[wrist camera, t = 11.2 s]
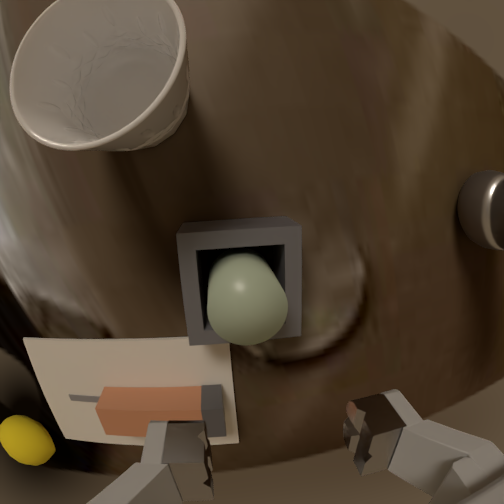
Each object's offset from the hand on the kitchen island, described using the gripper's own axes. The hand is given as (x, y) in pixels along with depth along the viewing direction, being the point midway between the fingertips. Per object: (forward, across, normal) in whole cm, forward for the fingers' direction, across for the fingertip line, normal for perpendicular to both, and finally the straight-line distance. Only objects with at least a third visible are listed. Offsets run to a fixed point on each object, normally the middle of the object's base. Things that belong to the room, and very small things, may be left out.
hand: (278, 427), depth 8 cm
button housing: (+15, 0, 0) cm, 15 cm away
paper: (+15, +10, +11) cm, 21 cm away
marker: (+15, +7, +11) cm, 20 cm away
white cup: (+15, +6, -12) cm, 20 cm away
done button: (+13, 0, 0) cm, 13 cm away
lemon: (+15, +23, +16) cm, 32 cm away
